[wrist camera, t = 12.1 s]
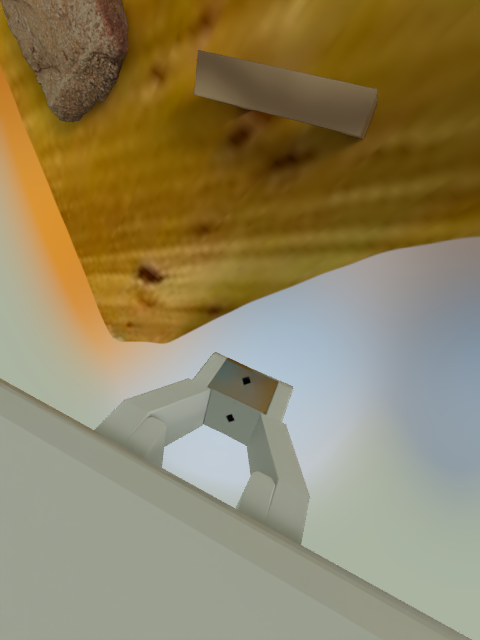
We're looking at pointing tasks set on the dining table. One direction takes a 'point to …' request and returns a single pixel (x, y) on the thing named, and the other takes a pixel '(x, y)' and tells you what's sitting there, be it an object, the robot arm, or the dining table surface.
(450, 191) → the dining table surface
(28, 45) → the rock
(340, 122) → the bridge
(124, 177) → the dining table surface
